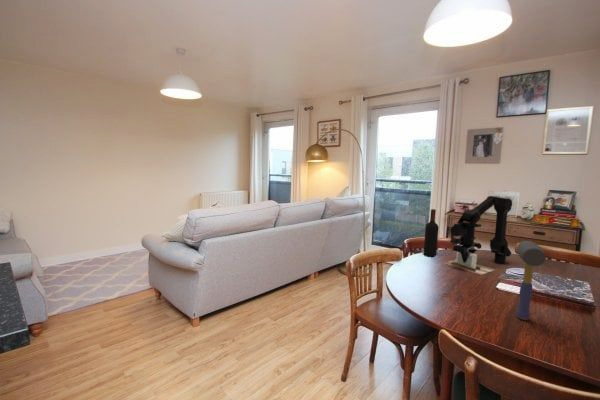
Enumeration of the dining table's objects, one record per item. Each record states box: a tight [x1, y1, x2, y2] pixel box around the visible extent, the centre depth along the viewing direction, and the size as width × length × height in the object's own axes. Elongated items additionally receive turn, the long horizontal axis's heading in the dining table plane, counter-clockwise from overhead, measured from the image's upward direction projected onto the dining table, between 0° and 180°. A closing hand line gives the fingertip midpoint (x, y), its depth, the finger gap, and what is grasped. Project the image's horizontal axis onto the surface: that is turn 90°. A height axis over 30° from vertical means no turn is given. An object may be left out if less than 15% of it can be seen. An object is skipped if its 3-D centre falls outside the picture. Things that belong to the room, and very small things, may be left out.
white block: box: [455, 251, 478, 269], centre depth 166 cm, size 10×3×8 cm, turn 32°
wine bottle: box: [423, 208, 439, 258], centre depth 188 cm, size 8×8×30 cm
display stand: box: [444, 258, 496, 276], centre depth 168 cm, size 15×21×2 cm
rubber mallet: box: [516, 240, 547, 321], centre depth 112 cm, size 12×8×30 cm, turn 152°
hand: (466, 261), depth 166 cm, fingers open, 3 cm apart
